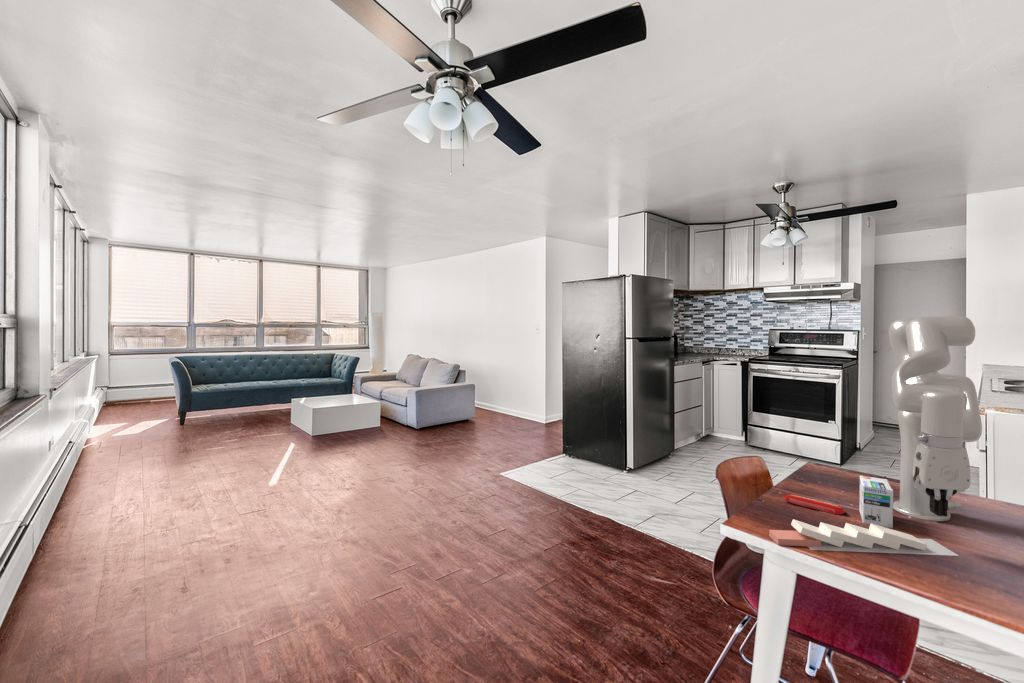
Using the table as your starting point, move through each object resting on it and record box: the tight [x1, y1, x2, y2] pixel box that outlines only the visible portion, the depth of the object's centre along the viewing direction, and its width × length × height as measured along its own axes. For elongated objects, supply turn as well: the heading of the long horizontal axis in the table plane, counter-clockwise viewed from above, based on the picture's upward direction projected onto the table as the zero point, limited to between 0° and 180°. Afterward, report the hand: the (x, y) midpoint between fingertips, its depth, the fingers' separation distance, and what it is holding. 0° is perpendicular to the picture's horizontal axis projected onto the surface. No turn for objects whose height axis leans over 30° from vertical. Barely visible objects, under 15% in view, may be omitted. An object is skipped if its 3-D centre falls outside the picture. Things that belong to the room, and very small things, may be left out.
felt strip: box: [806, 537, 960, 557], centre depth 116 cm, size 33×8×1 cm, turn 83°
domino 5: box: [868, 523, 927, 551], centre depth 115 cm, size 2×5×10 cm
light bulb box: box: [858, 475, 894, 529], centre depth 130 cm, size 11×7×11 cm, turn 148°
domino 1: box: [768, 529, 821, 547], centre depth 118 cm, size 2×5×10 cm
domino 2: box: [790, 519, 844, 547], centre depth 117 cm, size 2×5×10 cm
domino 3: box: [818, 521, 873, 549], centre depth 116 cm, size 2×5×10 cm
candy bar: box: [783, 494, 847, 515], centre depth 139 cm, size 16×4×3 cm, turn 43°
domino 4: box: [843, 522, 900, 550], centre depth 115 cm, size 2×5×10 cm
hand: (938, 513), depth 114 cm, fingers closed
